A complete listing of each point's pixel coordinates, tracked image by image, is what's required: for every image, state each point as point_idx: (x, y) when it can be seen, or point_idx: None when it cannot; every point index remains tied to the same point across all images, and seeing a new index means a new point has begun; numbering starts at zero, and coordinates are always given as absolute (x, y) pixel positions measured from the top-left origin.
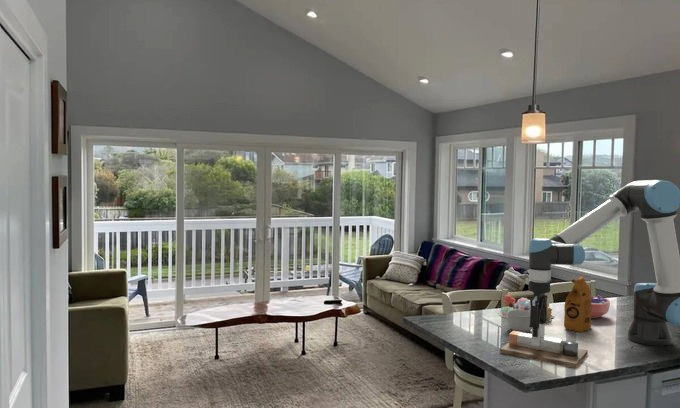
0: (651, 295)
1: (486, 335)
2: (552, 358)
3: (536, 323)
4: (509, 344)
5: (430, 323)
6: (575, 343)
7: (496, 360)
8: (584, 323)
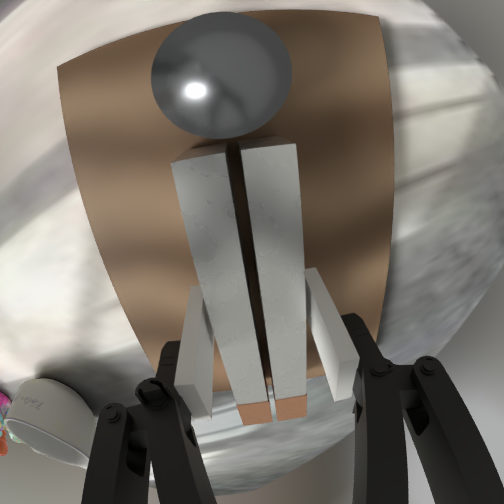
0: None
1: (202, 436)
2: (385, 143)
3: (451, 385)
4: None
5: (227, 486)
6: (206, 32)
7: (445, 313)
8: None
